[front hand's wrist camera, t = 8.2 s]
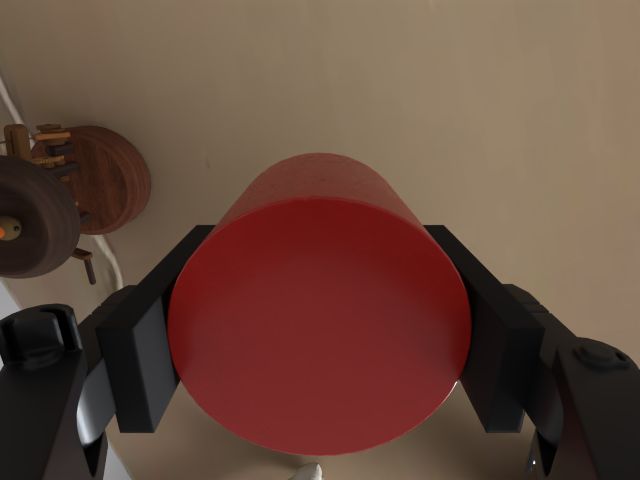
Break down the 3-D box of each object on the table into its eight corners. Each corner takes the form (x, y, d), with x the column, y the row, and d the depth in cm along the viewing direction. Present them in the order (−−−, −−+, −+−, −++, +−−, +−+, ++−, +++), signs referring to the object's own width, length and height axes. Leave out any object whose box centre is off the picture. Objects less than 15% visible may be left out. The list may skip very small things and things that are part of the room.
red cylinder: (195, 243, 16) (104, 348, 9) (317, 110, 14) (315, 119, 7) (321, 346, 18) (322, 496, 11) (444, 240, 16) (535, 342, 9)
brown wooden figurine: (18, 120, 37) (-258, 136, 18) (128, 100, 37) (-34, 95, 19) (78, 259, 42) (-87, 382, 24) (174, 241, 43) (86, 348, 24)
